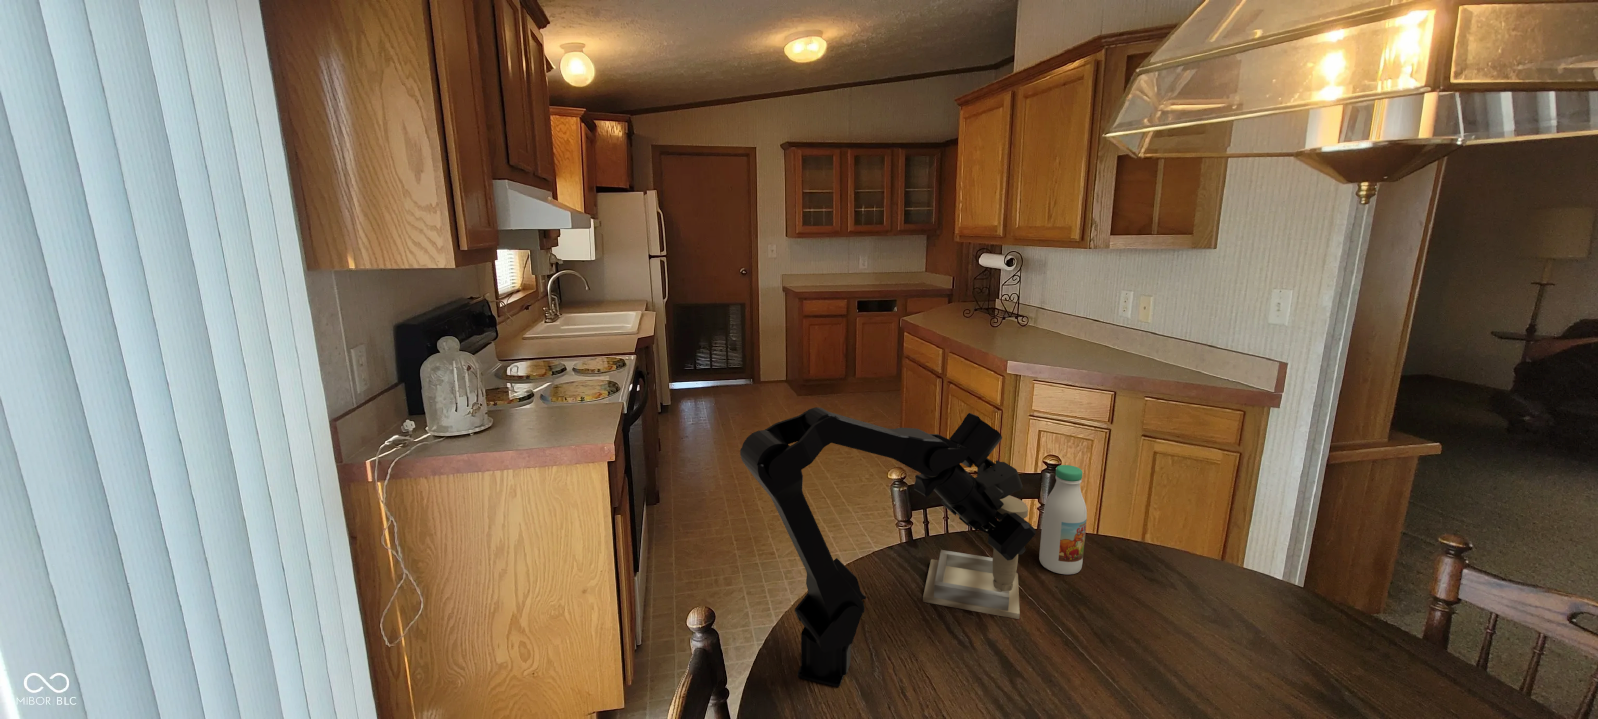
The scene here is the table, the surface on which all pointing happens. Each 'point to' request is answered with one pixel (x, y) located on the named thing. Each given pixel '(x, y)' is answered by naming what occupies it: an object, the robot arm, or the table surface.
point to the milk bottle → (1064, 523)
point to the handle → (1001, 567)
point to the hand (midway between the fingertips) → (1013, 544)
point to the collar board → (969, 585)
